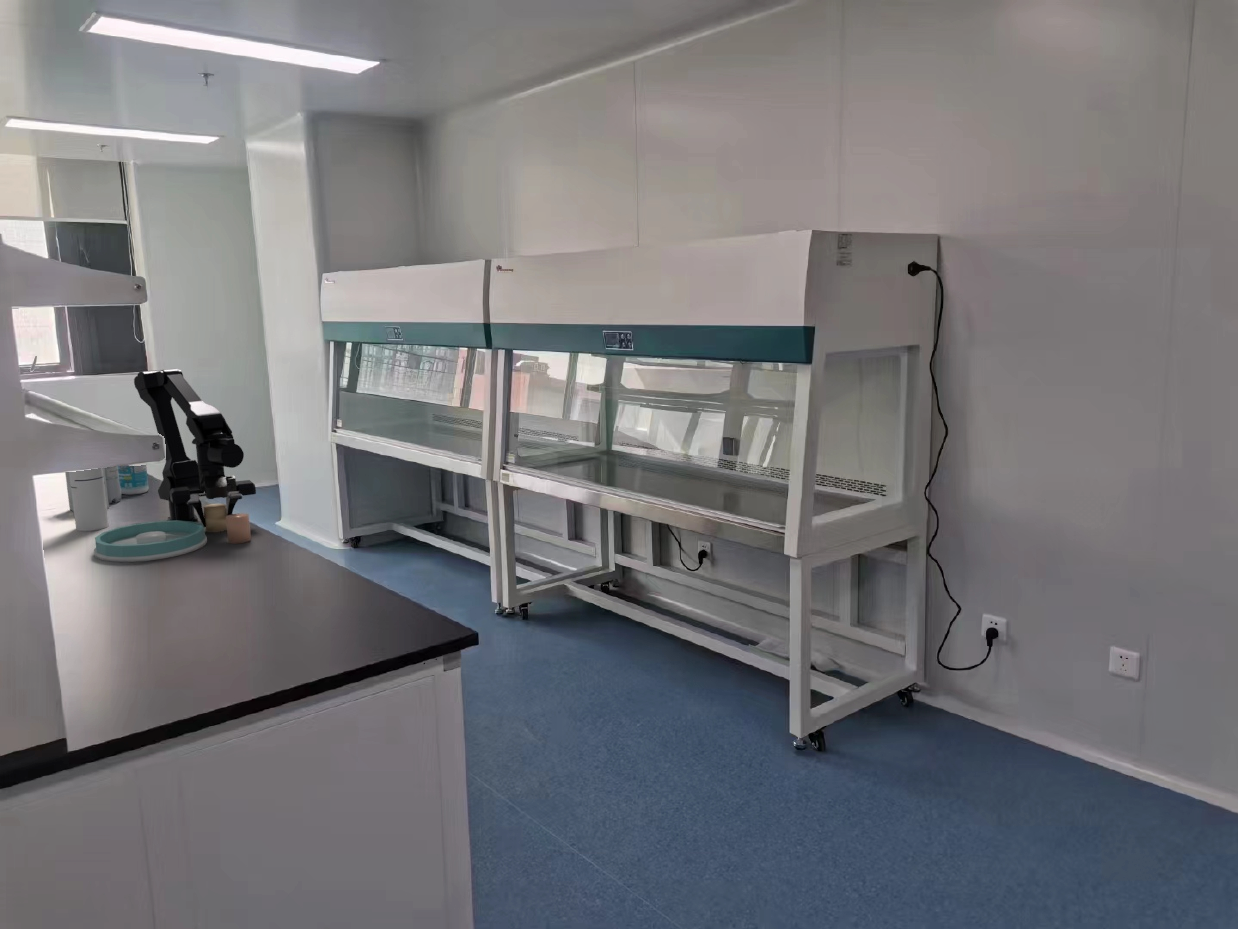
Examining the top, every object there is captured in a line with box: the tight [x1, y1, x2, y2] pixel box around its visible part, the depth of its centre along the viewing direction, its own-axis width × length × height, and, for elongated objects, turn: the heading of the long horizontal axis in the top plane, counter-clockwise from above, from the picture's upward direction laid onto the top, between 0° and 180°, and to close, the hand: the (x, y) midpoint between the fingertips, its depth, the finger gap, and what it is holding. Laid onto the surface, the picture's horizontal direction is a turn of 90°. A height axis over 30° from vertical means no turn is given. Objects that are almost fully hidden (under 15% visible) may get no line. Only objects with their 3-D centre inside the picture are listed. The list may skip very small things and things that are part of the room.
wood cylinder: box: [202, 503, 227, 533], centre depth 222 cm, size 5×5×6 cm
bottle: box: [105, 466, 122, 504], centre depth 252 cm, size 7×7×20 cm
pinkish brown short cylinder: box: [226, 512, 252, 544], centre depth 212 cm, size 5×5×6 cm
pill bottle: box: [117, 464, 150, 496], centre depth 264 cm, size 8×7×14 cm
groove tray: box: [93, 520, 208, 563], centre depth 207 cm, size 23×23×4 cm
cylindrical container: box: [69, 468, 110, 532], centre depth 224 cm, size 7×7×25 cm
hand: (216, 525), depth 222 cm, fingers closed on wood cylinder, 5 cm apart
